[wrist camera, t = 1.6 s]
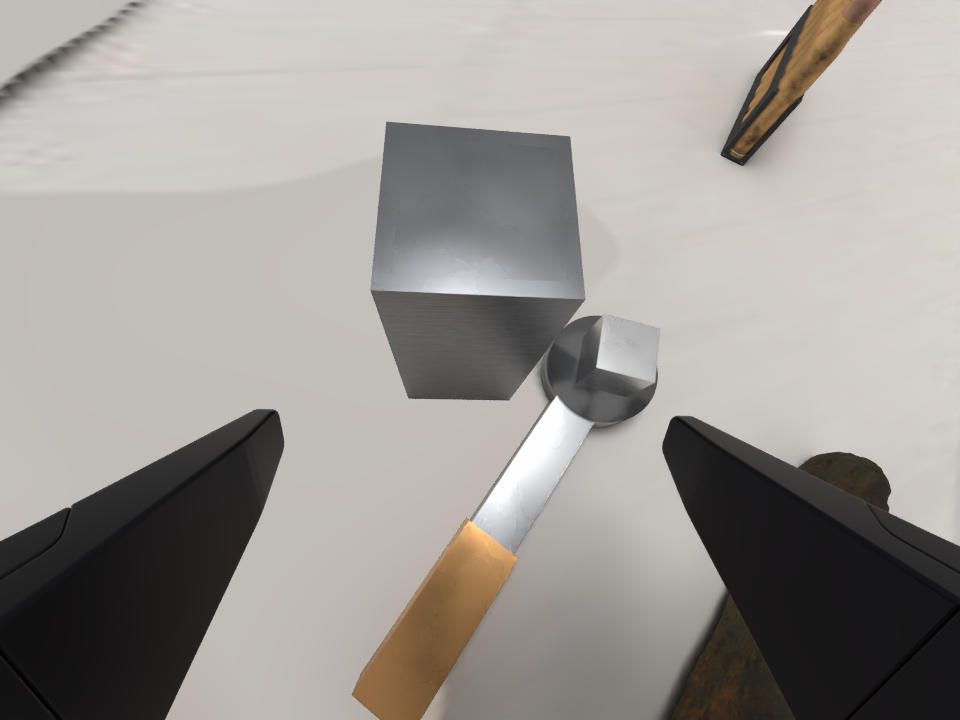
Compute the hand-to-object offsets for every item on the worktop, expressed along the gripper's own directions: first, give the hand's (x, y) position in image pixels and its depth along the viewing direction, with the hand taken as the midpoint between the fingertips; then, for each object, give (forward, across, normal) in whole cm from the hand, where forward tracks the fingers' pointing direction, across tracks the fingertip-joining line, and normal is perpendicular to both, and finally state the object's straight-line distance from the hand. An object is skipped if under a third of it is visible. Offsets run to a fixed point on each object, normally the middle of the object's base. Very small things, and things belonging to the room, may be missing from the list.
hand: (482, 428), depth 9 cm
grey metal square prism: (+13, 0, +4) cm, 14 cm away
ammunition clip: (+28, -23, -10) cm, 37 cm away
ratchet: (+8, -3, +10) cm, 13 cm away
